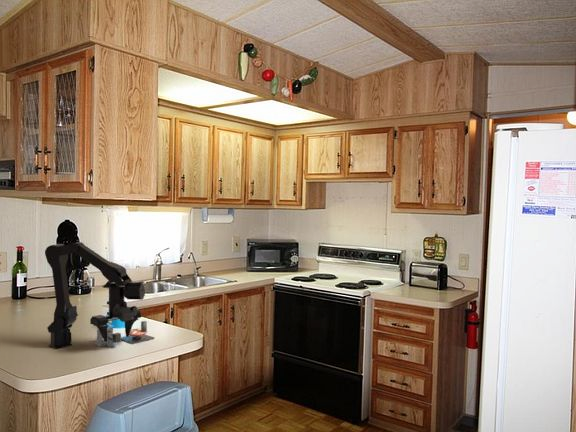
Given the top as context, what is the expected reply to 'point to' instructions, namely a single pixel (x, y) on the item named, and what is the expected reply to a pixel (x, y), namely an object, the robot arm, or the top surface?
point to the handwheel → (139, 330)
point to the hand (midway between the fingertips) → (116, 339)
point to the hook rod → (114, 337)
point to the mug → (116, 323)
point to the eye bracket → (101, 342)
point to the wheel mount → (137, 339)
